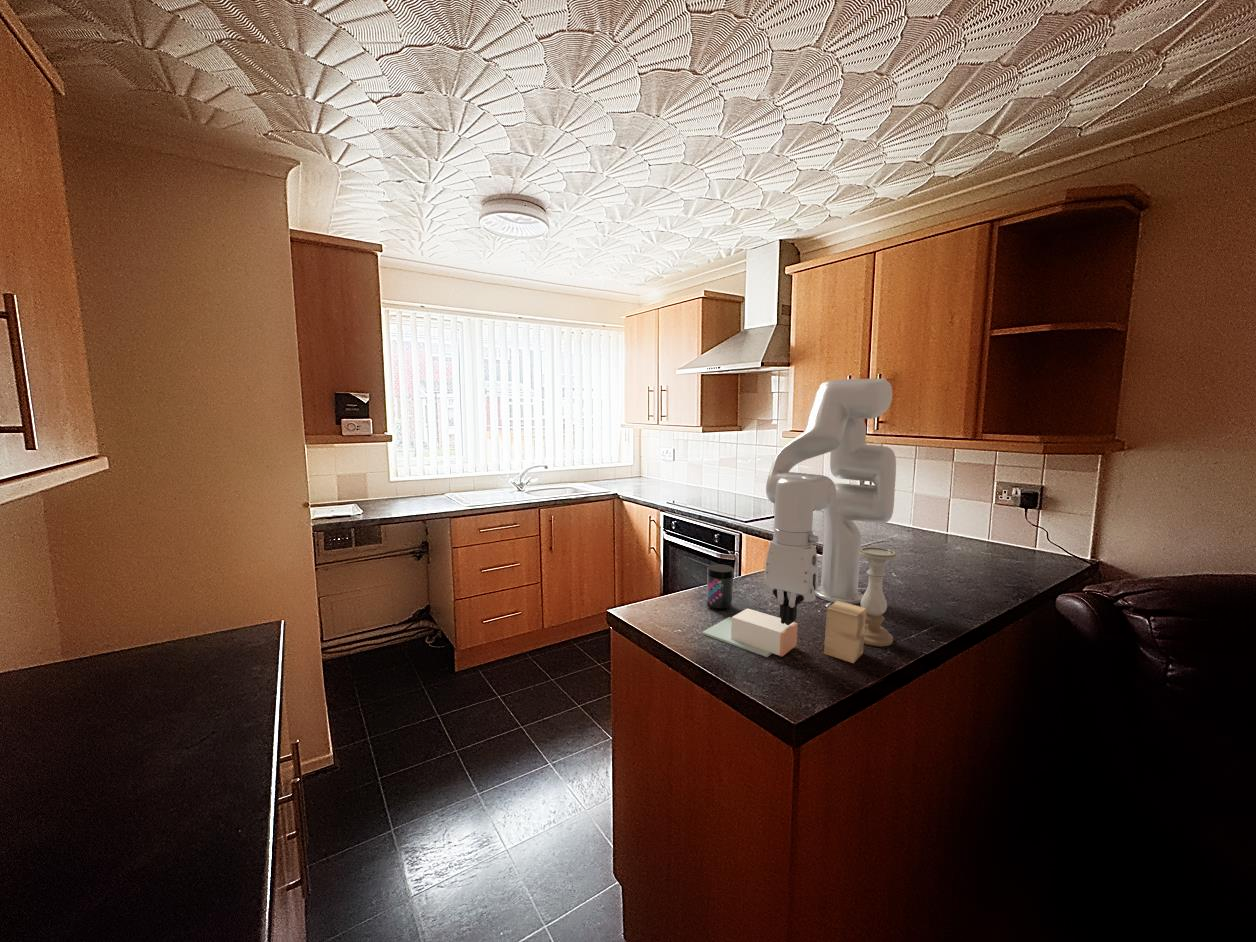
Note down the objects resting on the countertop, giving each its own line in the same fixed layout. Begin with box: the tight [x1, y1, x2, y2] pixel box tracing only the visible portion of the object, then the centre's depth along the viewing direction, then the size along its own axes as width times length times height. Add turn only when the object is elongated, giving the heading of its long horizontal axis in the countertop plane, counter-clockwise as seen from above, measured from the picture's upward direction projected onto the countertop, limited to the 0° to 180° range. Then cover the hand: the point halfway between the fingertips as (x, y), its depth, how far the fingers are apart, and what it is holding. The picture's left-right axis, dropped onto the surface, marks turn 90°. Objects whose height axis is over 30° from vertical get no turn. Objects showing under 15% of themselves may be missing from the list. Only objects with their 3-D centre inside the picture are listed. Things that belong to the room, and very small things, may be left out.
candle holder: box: [859, 546, 897, 647], centre depth 113 cm, size 9×9×20 cm
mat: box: [701, 616, 773, 658], centre depth 114 cm, size 12×16×1 cm
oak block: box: [823, 601, 866, 664], centre depth 106 cm, size 6×6×10 cm
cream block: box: [731, 608, 799, 657], centre depth 110 cm, size 7×5×12 cm
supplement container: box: [706, 563, 735, 612], centre depth 131 cm, size 7×7×10 cm
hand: (787, 622), depth 106 cm, fingers closed
